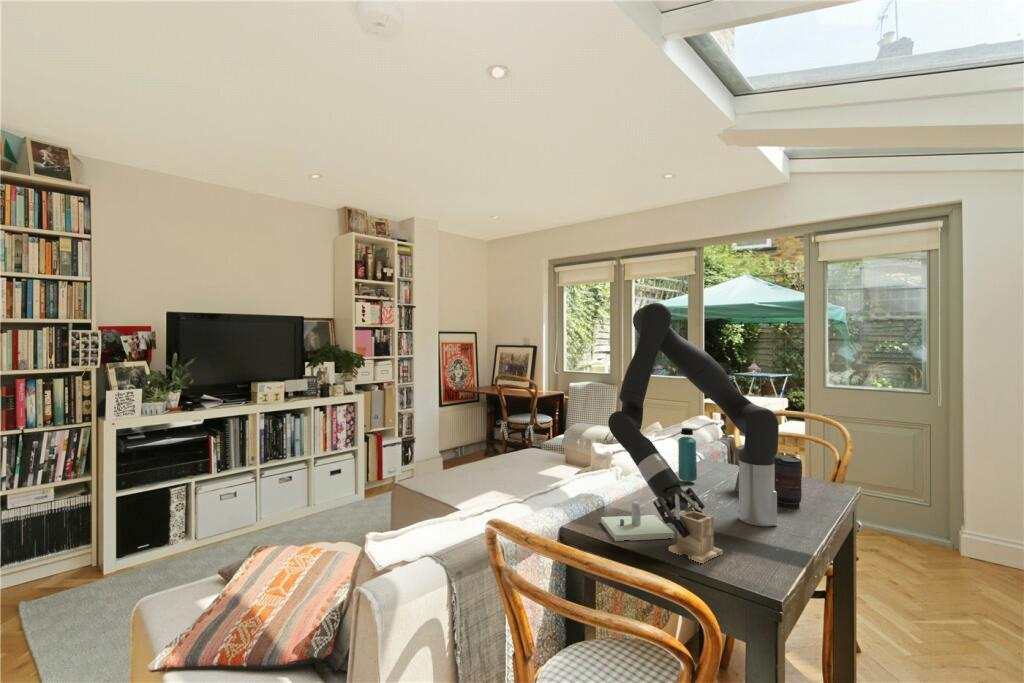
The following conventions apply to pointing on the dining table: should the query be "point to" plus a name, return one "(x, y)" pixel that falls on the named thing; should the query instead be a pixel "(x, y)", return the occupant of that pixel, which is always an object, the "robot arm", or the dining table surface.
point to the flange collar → (696, 538)
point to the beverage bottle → (687, 456)
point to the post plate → (636, 526)
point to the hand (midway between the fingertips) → (697, 532)
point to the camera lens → (788, 481)
